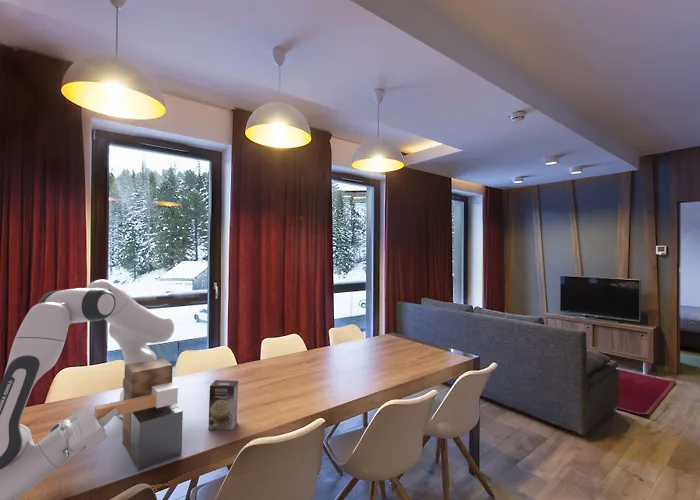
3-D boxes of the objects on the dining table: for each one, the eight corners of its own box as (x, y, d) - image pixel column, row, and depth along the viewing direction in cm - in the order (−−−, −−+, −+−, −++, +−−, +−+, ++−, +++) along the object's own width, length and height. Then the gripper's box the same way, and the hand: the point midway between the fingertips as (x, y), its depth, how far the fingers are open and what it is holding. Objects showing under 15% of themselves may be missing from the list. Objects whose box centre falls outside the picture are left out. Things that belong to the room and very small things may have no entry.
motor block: (138, 471, 101) (139, 422, 101) (129, 455, 109) (131, 411, 109) (181, 455, 109) (182, 410, 110) (170, 442, 117) (172, 400, 117)
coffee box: (207, 430, 126) (208, 385, 126) (213, 421, 132) (214, 379, 132) (232, 430, 126) (233, 385, 126) (237, 421, 132) (238, 379, 133)
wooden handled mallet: (96, 422, 96) (98, 404, 96) (93, 415, 100) (94, 397, 101) (177, 403, 111) (177, 387, 111) (171, 397, 115) (172, 382, 115)
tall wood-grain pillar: (129, 455, 109) (132, 372, 110) (122, 442, 117) (124, 364, 117) (170, 441, 117) (172, 364, 118) (161, 430, 125) (163, 358, 126)
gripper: (57, 453, 85) (116, 410, 93) (51, 423, 99) (103, 389, 108) (73, 470, 87) (129, 427, 95) (65, 439, 101) (114, 404, 110)
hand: (115, 407), depth 102 cm, fingers open, 3 cm apart
